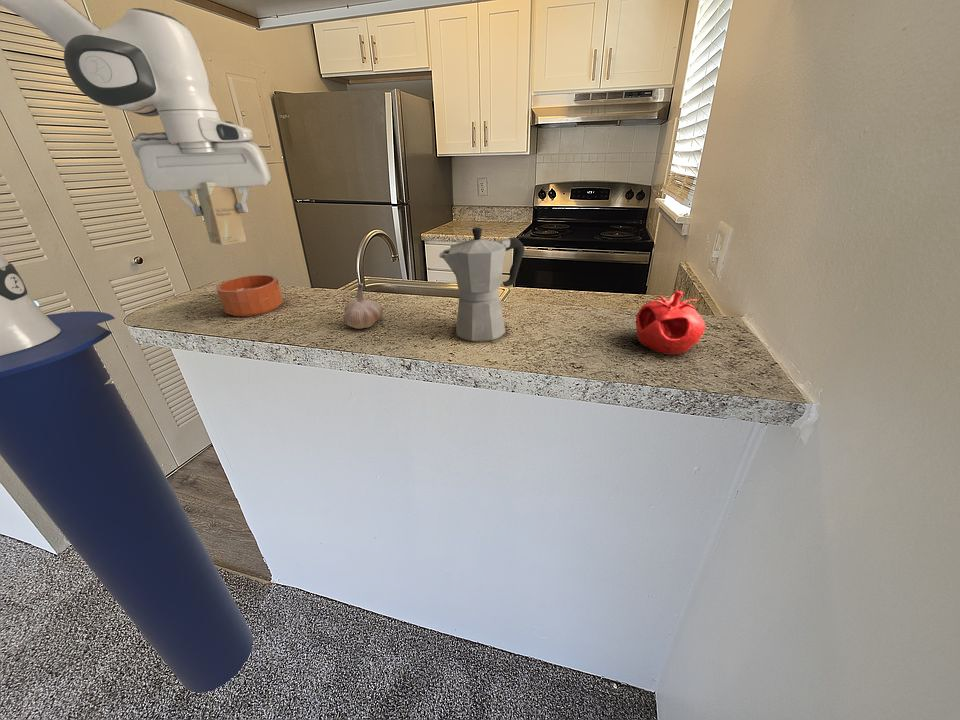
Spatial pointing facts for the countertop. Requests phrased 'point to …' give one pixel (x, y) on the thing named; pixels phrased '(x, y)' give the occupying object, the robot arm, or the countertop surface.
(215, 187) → the box
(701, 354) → the countertop surface
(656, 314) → the pomegranate
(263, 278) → the bowl
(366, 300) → the garlic bulb
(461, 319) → the coffeepot
